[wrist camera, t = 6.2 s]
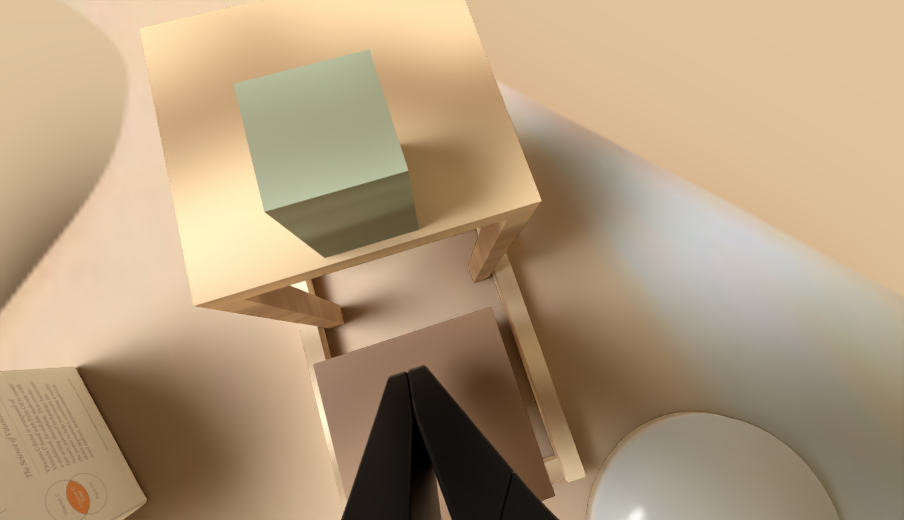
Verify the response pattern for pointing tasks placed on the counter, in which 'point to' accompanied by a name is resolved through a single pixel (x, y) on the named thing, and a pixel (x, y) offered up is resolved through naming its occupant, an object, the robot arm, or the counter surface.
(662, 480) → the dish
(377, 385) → the walnut block
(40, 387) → the small box
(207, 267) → the wooden toy stool
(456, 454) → the robot arm
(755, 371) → the counter surface
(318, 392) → the track
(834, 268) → the counter surface
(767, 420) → the counter surface
